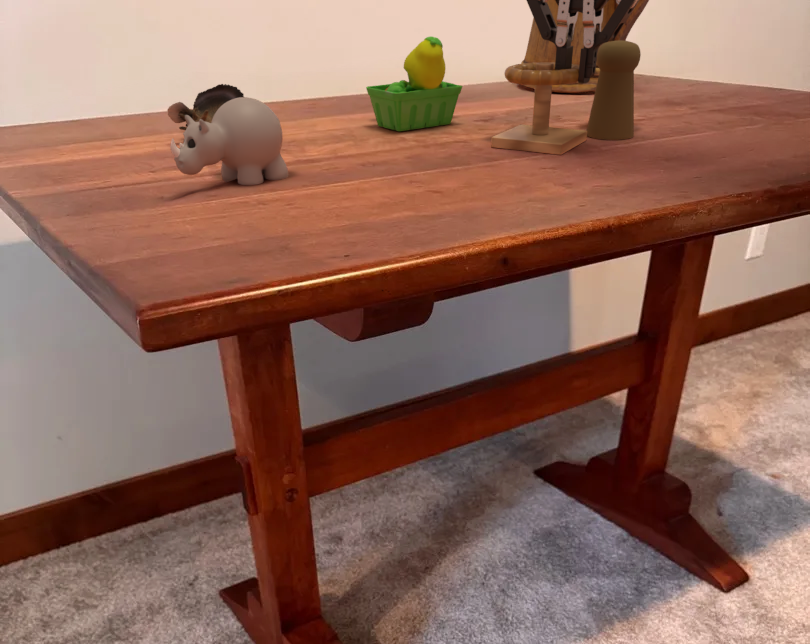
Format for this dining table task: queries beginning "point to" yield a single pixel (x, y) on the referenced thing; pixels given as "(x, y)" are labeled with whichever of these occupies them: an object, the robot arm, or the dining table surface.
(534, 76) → the ring
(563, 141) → the post
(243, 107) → the toy rhinoceros
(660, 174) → the dining table surface
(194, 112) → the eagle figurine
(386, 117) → the fruit basket
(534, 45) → the tankard
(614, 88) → the cork
